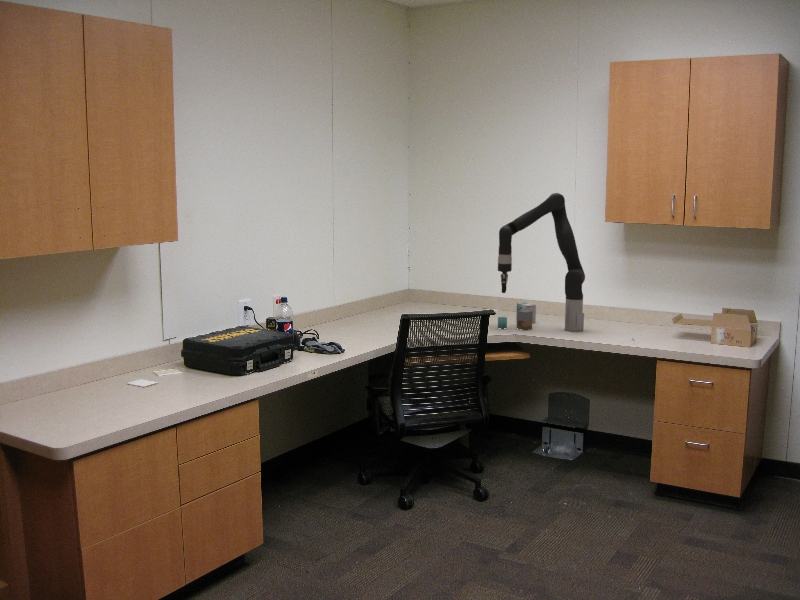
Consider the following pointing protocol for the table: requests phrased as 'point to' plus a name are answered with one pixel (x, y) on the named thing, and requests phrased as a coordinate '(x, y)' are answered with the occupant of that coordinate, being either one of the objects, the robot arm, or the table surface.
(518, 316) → the grey top block
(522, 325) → the walnut base block
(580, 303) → the robot arm
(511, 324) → the table surface
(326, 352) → the table surface
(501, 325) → the teal cylinder
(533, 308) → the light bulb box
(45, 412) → the table surface
